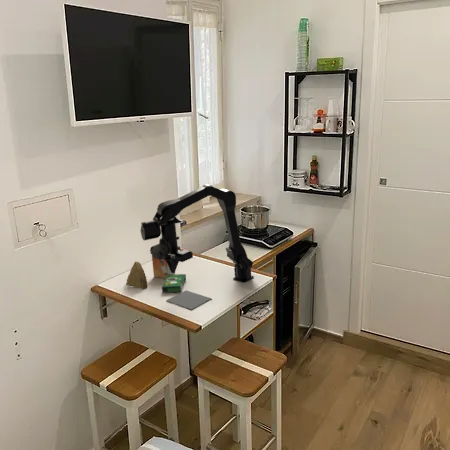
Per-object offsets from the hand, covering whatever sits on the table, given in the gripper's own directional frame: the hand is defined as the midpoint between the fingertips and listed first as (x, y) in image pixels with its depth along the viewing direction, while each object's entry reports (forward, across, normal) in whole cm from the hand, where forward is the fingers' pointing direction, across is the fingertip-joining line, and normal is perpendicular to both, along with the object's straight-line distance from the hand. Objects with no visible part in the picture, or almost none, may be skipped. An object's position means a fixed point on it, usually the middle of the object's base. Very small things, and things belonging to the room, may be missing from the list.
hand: (173, 272), depth 189 cm
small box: (+10, -20, +12) cm, 25 cm away
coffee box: (+8, -3, +1) cm, 9 cm away
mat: (+10, +8, 0) cm, 12 cm away
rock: (+10, -22, -2) cm, 24 cm away
